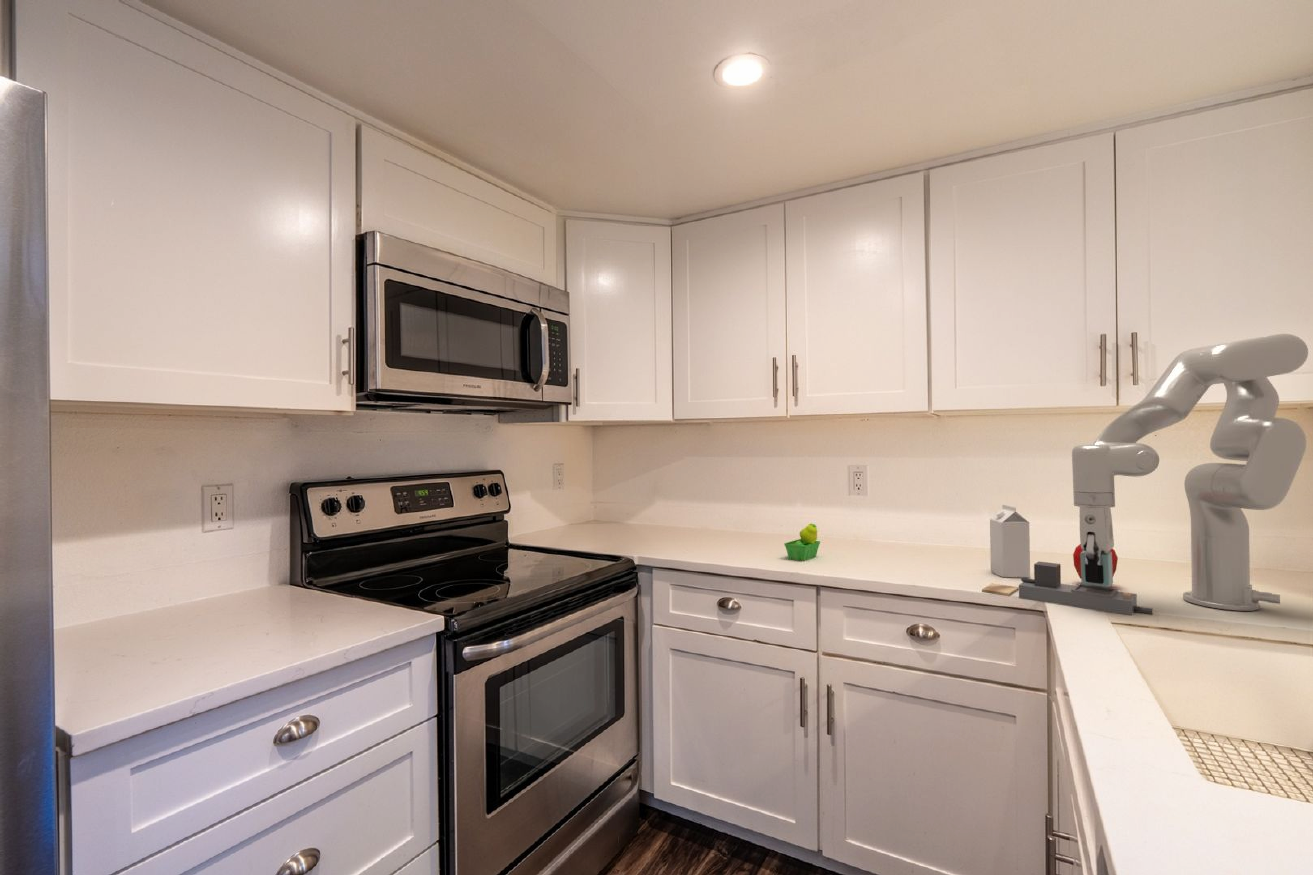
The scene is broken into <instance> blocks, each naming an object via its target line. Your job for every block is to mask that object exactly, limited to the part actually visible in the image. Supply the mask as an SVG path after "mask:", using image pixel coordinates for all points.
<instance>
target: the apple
mask: <svg viewBox="0 0 1313 875" xmlns="http://www.w3.org/2000/svg"><path fill="white" fill-rule="evenodd" d="M1082 551H1083V550H1082V549H1081V543H1079V544H1078V545H1077V546H1076V547H1075V549H1074V551H1073V554H1072V556H1073V566H1074V569H1075V570H1076V573H1077V575H1078V577H1079V578H1080V579H1081V555H1080V553H1081V552H1082ZM1109 552H1112V570H1113V577H1114V575H1115V573H1116V571H1117V565H1118V559H1119V557H1118V555H1117V553H1116V551H1115V549H1114V547H1113V548H1112V549H1111V550H1110V551H1109ZM1092 586H1095V585H1092ZM1099 587H1103V586H1099Z"/></svg>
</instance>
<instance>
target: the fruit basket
mask: <svg viewBox="0 0 1313 875" xmlns="http://www.w3.org/2000/svg"><path fill="white" fill-rule="evenodd" d="M799 537H800V538H798V539H795V540H792V541H788V542H784V544H783V545H784V547H785V550H786V553H787V556H788V559H789V560H793V561H801V562H805V561H808V560H810V559H813V558H815V557H817V555H818V551H819V547H820V544H821V541H820V540H818V528H817V524H815V523H809V524H808V525H807V526H805V527H803V528H802V529H801V530H800V531H799Z"/></svg>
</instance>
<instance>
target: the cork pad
mask: <svg viewBox="0 0 1313 875" xmlns="http://www.w3.org/2000/svg"><path fill="white" fill-rule="evenodd" d="M981 592H983V593H988V594H994V595H1001V596H1007V597H1010V596H1012V595H1013V594H1014V593H1016V592H1019V586H1012V585H1006V584H1000V583H991V584H988V585H986V586H985V587H983V588H982V589H981Z"/></svg>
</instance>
